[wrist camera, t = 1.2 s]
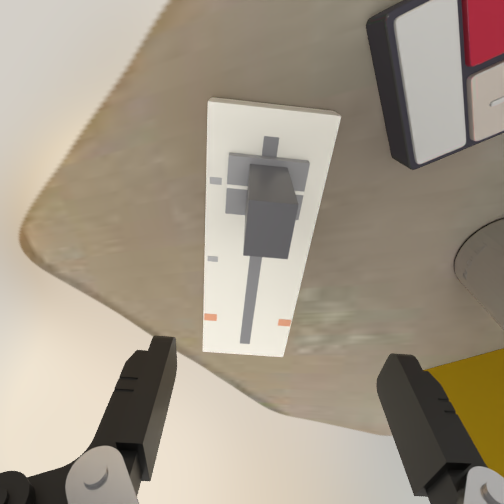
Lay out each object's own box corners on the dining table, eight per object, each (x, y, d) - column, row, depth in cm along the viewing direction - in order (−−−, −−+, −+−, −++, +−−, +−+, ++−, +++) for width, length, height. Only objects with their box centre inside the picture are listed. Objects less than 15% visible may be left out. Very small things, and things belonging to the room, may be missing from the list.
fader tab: (308, 160, 25) (328, 199, 18) (297, 216, 27) (311, 267, 21) (229, 152, 24) (220, 189, 18) (225, 209, 27) (217, 259, 21)
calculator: (633, 85, 21) (415, 175, 24) (575, 81, 25) (391, 160, 28) (679, -138, 16) (388, 12, 18) (596, -100, 19) (363, 20, 22)
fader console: (334, 110, 25) (341, 116, 23) (281, 341, 40) (283, 357, 38) (211, 97, 25) (207, 101, 22) (205, 335, 40) (202, 351, 38)
